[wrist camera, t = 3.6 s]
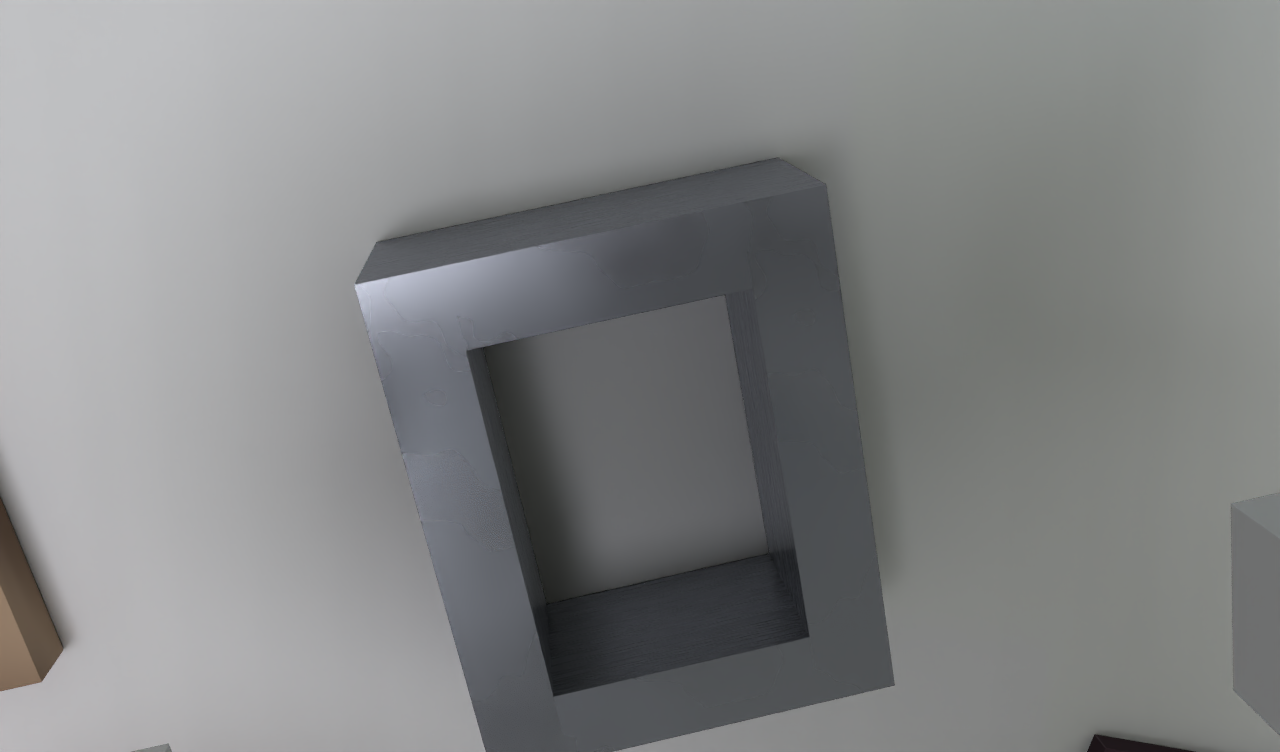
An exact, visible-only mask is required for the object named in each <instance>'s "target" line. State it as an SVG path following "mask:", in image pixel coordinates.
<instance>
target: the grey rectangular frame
mask: <svg viewBox="0 0 1280 752" xmlns="http://www.w3.org/2000/svg"><path fill="white" fill-rule="evenodd" d="M354 286H355V290H356V293H357V297H358V300H359V304H360V307H361V311H362V314H363V318H364V321H365V325H366V329H367V332H368V336H369V339H370V343H371V346H372V350H373V353H374V357H375V360H376V364H377V368H378V371H379V375H380V378H381V382H382V385H383V389H384V392H385V396H386V399H387V403H388V407H389V410H390V414H391V417H392V421H393V424H394V428H395V431H396V435H397V438H398V442H399V445H400V449H401V453H402V456H403V460H404V463H405V467H406V470H407V474H408V477H409V481H410V484H411V488H412V492H413V495H414V499H415V502H416V506H417V509H418V513H419V516H420V520H421V523H422V527H423V531H424V534H425V538H426V541H427V545H428V548H429V552H430V555H431V559H432V562H433V566H434V570H435V573H436V577H437V580H438V584H439V587H440V591H441V594H442V598H443V601H444V605H445V609H446V612H447V616H448V619H449V623H450V626H451V630H452V633H453V637H454V640H455V644H456V648H457V651H458V655H459V658H460V662H461V665H462V669H463V672H464V676H465V679H466V683H467V687H468V690H469V694H470V697H471V701H472V704H473V708H474V711H475V715H476V718H477V722H478V726H479V729H480V733H481V736H482V740H483V743H484V747H485V750H486V752H613V751H617V750H622V749H626V748H630V747H634V746H639V745H643V744H647V743H651V742H656V741H660V740H664V739H668V738H673V737H677V736H681V735H685V734H690V733H694V732H698V731H702V730H707V729H711V728H715V727H719V726H724V725H728V724H732V723H736V722H741V721H745V720H749V719H753V718H758V717H762V716H766V715H770V714H775V713H779V712H783V711H788V710H792V709H796V708H800V707H805V706H809V705H813V704H817V703H822V702H826V701H830V700H834V699H839V698H843V697H847V696H851V695H856V694H860V693H864V692H868V691H873V690H877V689H881V688H885V687H890V686H894V685H895V684H894V677H893V670H892V662H891V655H890V648H889V640H888V633H887V626H886V618H885V611H884V604H883V597H882V589H881V582H880V575H879V567H878V560H877V553H876V545H875V538H874V531H873V523H872V516H871V509H870V501H869V494H868V487H867V479H866V472H865V465H864V458H863V450H862V443H861V436H860V428H859V421H858V414H857V406H856V399H855V392H854V384H853V377H852V370H851V362H850V355H849V348H848V340H847V333H846V326H845V319H844V311H843V304H842V297H841V289H840V282H839V275H838V267H837V260H836V253H835V245H834V238H833V231H832V223H831V216H830V209H829V201H828V194H827V187H826V184H824V183H823V182H821V181H819V180H817V179H816V178H814V177H812V176H810V175H808V174H807V173H805V172H803V171H801V170H800V169H798V168H796V167H794V166H793V165H791V164H789V163H787V162H785V161H784V160H782V159H780V158H774V159H769V160H765V161H760V162H755V163H750V164H746V165H741V166H736V167H731V168H727V169H722V170H717V171H712V172H708V173H703V174H698V175H693V176H689V177H684V178H679V179H675V180H670V181H665V182H660V183H656V184H651V185H646V186H641V187H637V188H632V189H627V190H622V191H618V192H613V193H608V194H603V195H599V196H594V197H589V198H585V199H580V200H575V201H570V202H566V203H561V204H556V205H551V206H547V207H542V208H537V209H532V210H528V211H523V212H518V213H514V214H509V215H504V216H499V217H495V218H490V219H485V220H480V221H476V222H471V223H466V224H461V225H457V226H452V227H447V228H442V229H438V230H433V231H428V232H424V233H419V234H414V235H409V236H405V237H400V238H395V239H390V240H386V241H381V242H376V244H375V246H374V248H373V250H372V252H371V254H370V256H369V257H368V259H367V261H366V263H365V265H364V267H363V269H362V271H361V273H360V275H359V277H358V279H357V280H356V282H355V284H354ZM721 295H725V298H726V304H727V310H728V315H729V321H730V327H731V333H732V339H733V345H734V350H735V356H736V362H737V368H738V374H739V380H740V385H741V391H742V397H743V403H744V409H745V414H746V420H747V426H748V432H749V438H750V444H751V449H752V455H753V461H754V467H755V473H756V479H757V484H758V490H759V496H760V502H761V508H762V514H763V519H764V525H765V531H766V537H767V543H768V549H769V554H766V555H762V556H757V557H753V558H749V559H744V560H740V561H735V562H731V563H727V564H722V565H718V566H713V567H709V568H705V569H700V570H696V571H692V572H687V573H683V574H678V575H674V576H670V577H665V578H661V579H656V580H652V581H648V582H643V583H639V584H635V585H630V586H626V587H621V588H617V589H613V590H608V591H604V592H599V593H595V594H591V595H586V596H582V597H578V598H573V599H569V600H564V601H560V602H556V603H551V604H546V600H545V596H544V592H543V588H542V584H541V580H540V576H539V572H538V568H537V563H536V559H535V555H534V551H533V547H532V543H531V539H530V535H529V531H528V527H527V523H526V519H525V515H524V511H523V507H522V503H521V499H520V495H519V491H518V487H517V483H516V479H515V475H514V471H513V467H512V463H511V459H510V455H509V451H508V447H507V443H506V439H505V435H504V431H503V427H502V422H501V418H500V414H499V410H498V406H497V402H496V398H495V394H494V390H493V386H492V382H491V378H490V374H489V370H488V366H487V362H486V358H485V354H484V350H483V347H486V346H490V345H495V344H500V343H504V342H509V341H513V340H518V339H523V338H527V337H532V336H536V335H541V334H546V333H550V332H555V331H560V330H564V329H569V328H573V327H578V326H583V325H587V324H592V323H596V322H601V321H606V320H610V319H615V318H620V317H624V316H629V315H633V314H638V313H643V312H647V311H652V310H657V309H661V308H666V307H670V306H675V305H680V304H684V303H689V302H693V301H698V300H703V299H707V298H712V297H717V296H721Z"/></svg>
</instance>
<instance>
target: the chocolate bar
mask: <svg viewBox="0 0 1280 752" xmlns="http://www.w3.org/2000/svg"><path fill="white" fill-rule="evenodd" d="M1087 752H1194V751H1188V750H1182V749H1177V748H1171V747H1165V746H1159V745H1154V744H1148V743H1142V742H1136V741H1130V740H1125V739H1119V738H1113V737H1107V736H1102V735H1096V734H1095V735H1094V737H1093V739H1092V742H1091V744H1090V746H1089V749H1088V751H1087Z"/></svg>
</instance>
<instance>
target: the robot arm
mask: <svg viewBox="0 0 1280 752" xmlns="http://www.w3.org/2000/svg"><path fill="white" fill-rule="evenodd" d="M1231 553H1232V630H1233V690H1234V691H1235V692H1236V693H1237V694H1238V695H1239V696H1240V697H1241V698H1242V699H1243V700H1244V701H1245V702H1246V703H1247V704H1248V705H1249V706H1250V707H1251V708H1252V709H1253V710H1254V711H1255V712H1256V713H1257V714H1258V715H1259V716H1260V717H1261V718H1262V719H1263V720H1264V721H1265V722H1266V723H1267V724H1268V725H1269V726H1271V727H1272V728H1273V729H1274V730H1275V731H1276V732H1277V733H1278V734H1279V735H1280V493H1276V494H1272V495H1267V496H1263V497H1258V498H1254V499H1250V500H1245V501H1241V502H1236V503H1232V504H1231ZM133 752H172V751H171V748H170V746H169V744H164V745H160V746H155V747H151V748H146V749H142V750H137V751H133Z"/></svg>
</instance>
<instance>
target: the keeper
mask: <svg viewBox="0 0 1280 752" xmlns="http://www.w3.org/2000/svg"><path fill="white" fill-rule="evenodd" d="M62 651H63V648H62V645H61V643H60V640H59V638H58V635H57V633H56V631H55V628H54V626H53V623H52V621H51V619H50V616H49V614H48V611H47V609H46V606H45V604H44V602H43V599H42V597H41V594H40V592H39V590H38V587H37V585H36V582H35V580H34V578H33V575H32V573H31V570H30V568H29V565H28V563H27V561H26V558H25V556H24V553H23V551H22V549H21V546H20V544H19V541H18V539H17V537H16V534H15V532H14V529H13V527H12V524H11V522H10V520H9V517H8V515H7V512H6V510H5V508H4V505H3V503H2V500H1V498H0V691H4V690H8V689H13V688H17V687H22V686H26V685H30V684H35V683H39V682H42V681H43V679H44V678H45V676H46V675H47V673H48V672H49V670H50V669H51V667H52V666H53V664H54V663H55V661H56V660H57V658H58V657H59V656H60V654H61V653H62Z"/></svg>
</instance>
